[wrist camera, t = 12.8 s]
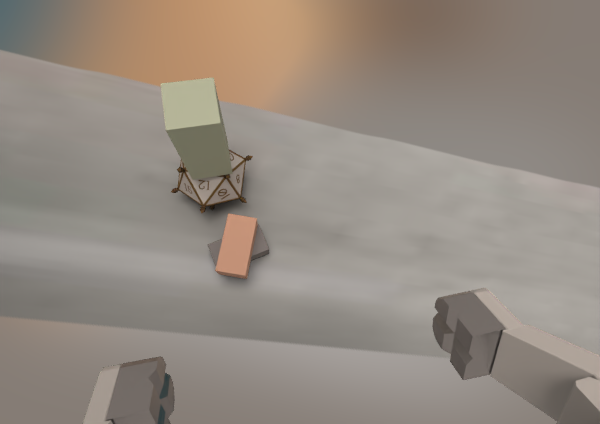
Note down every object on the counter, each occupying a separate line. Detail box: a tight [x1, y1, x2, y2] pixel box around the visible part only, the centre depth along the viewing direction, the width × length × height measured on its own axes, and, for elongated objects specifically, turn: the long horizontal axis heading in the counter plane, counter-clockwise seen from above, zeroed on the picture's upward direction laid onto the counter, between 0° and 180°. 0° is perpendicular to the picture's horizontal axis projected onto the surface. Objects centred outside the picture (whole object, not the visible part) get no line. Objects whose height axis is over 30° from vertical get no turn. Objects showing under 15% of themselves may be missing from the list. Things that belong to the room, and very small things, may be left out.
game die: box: [171, 150, 253, 213], centre depth 41 cm, size 9×8×10 cm
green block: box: [161, 78, 233, 180], centre depth 32 cm, size 4×4×10 cm
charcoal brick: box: [208, 225, 269, 266], centre depth 41 cm, size 6×3×3 cm, turn 113°
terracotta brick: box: [215, 213, 258, 279], centre depth 39 cm, size 6×3×3 cm, turn 171°
